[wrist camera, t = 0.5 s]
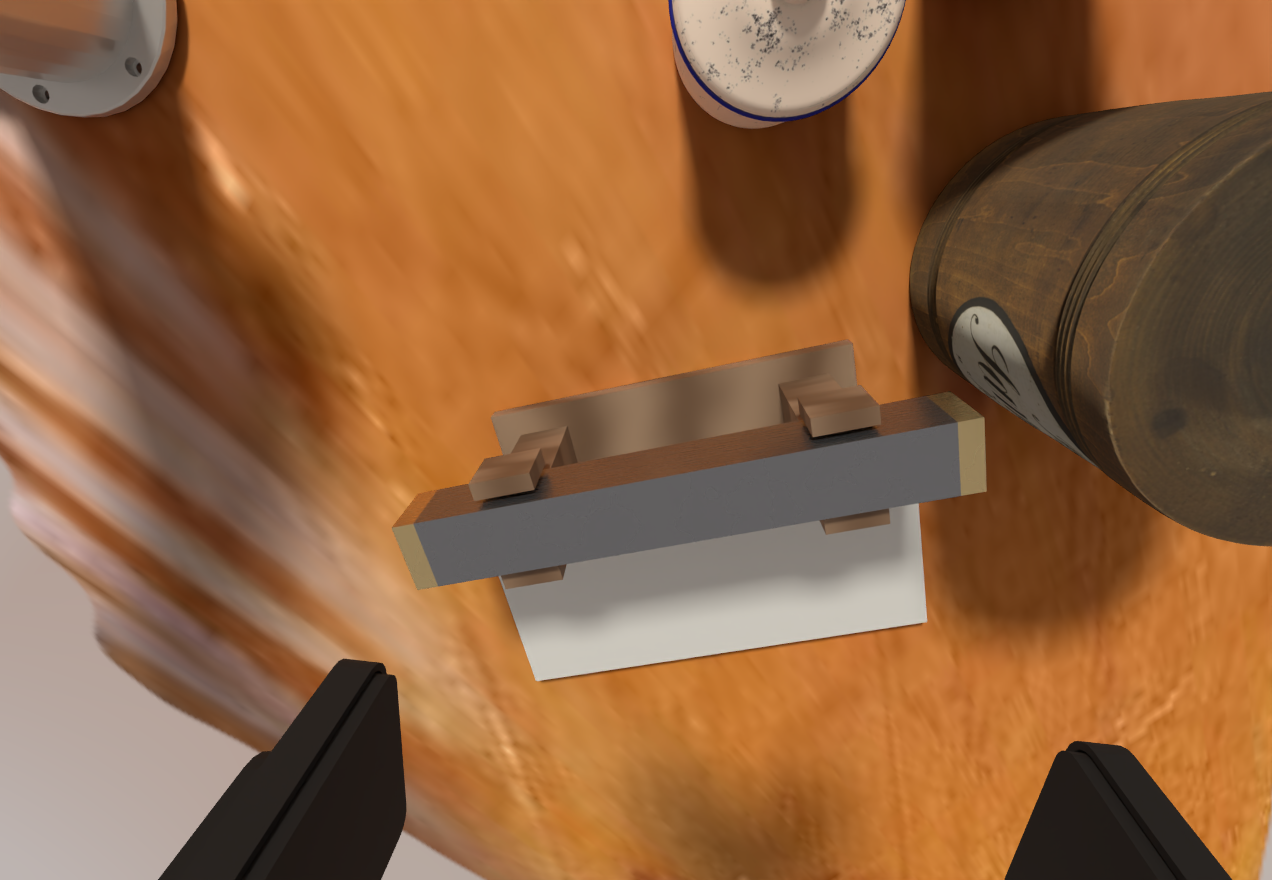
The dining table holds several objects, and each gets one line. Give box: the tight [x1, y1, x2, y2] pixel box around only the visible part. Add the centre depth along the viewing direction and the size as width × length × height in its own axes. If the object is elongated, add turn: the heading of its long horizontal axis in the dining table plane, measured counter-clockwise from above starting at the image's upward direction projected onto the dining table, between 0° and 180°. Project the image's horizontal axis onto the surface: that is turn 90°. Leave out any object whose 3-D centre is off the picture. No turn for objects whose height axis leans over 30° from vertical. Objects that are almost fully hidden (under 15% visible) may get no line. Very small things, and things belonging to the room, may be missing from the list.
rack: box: [468, 340, 890, 589], centre depth 35 cm, size 22×6×11 cm, turn 103°
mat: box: [499, 503, 927, 681], centre depth 44 cm, size 28×11×1 cm, turn 103°
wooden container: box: [910, 92, 1272, 546], centre depth 26 cm, size 15×15×22 cm
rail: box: [392, 391, 987, 590], centre depth 31 cm, size 27×4×4 cm, turn 103°
